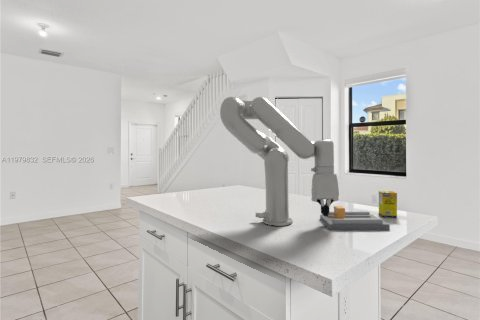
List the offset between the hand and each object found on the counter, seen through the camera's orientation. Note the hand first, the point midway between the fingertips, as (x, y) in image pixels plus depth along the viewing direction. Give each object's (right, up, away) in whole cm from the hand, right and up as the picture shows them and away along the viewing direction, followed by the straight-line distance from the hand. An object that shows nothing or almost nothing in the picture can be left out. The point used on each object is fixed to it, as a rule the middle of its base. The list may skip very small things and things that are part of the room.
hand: (325, 215), depth 112 cm
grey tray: (+11, -2, -1) cm, 11 cm away
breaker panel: (+11, -4, -1) cm, 11 cm away
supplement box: (+32, -3, +11) cm, 34 cm away
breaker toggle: (+6, -1, 0) cm, 6 cm away
